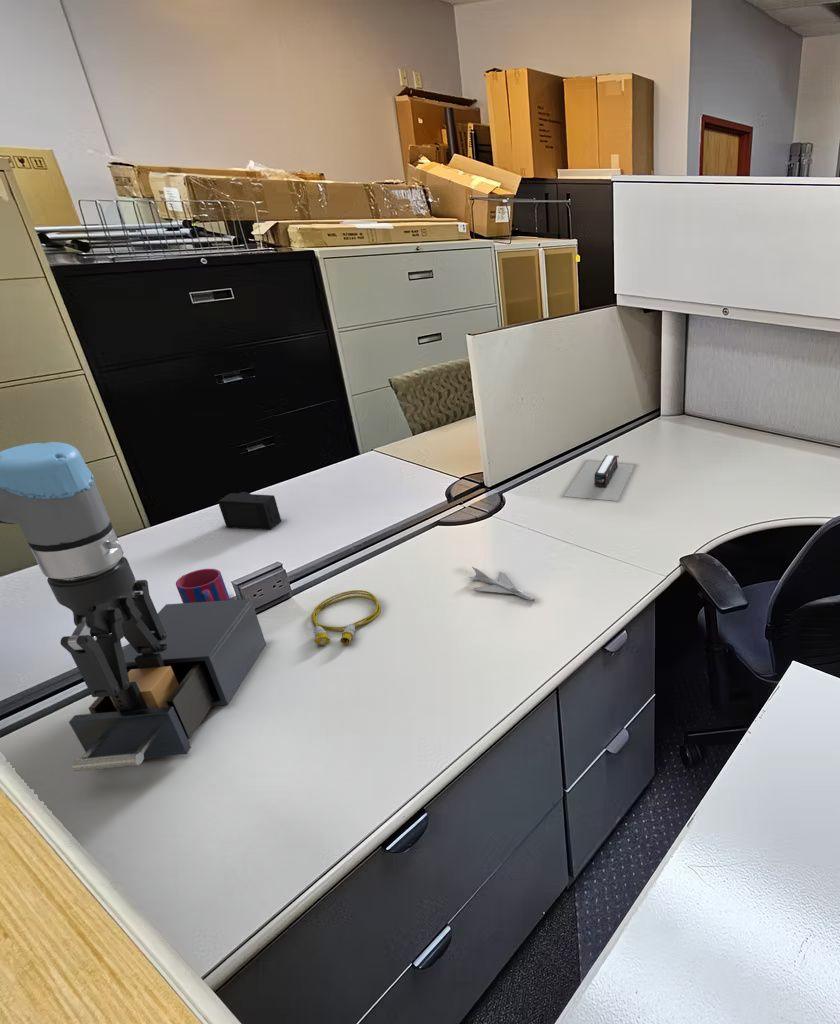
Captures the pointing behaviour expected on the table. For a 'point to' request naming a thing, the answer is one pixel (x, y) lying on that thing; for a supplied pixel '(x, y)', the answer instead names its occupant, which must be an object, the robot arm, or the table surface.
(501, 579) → the toy airplane
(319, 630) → the extension cord
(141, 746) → the drawer
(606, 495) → the bus
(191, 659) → the cabinet
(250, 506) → the digital camera
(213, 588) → the mug
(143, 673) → the block
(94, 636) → the robot arm
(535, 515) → the table surface
